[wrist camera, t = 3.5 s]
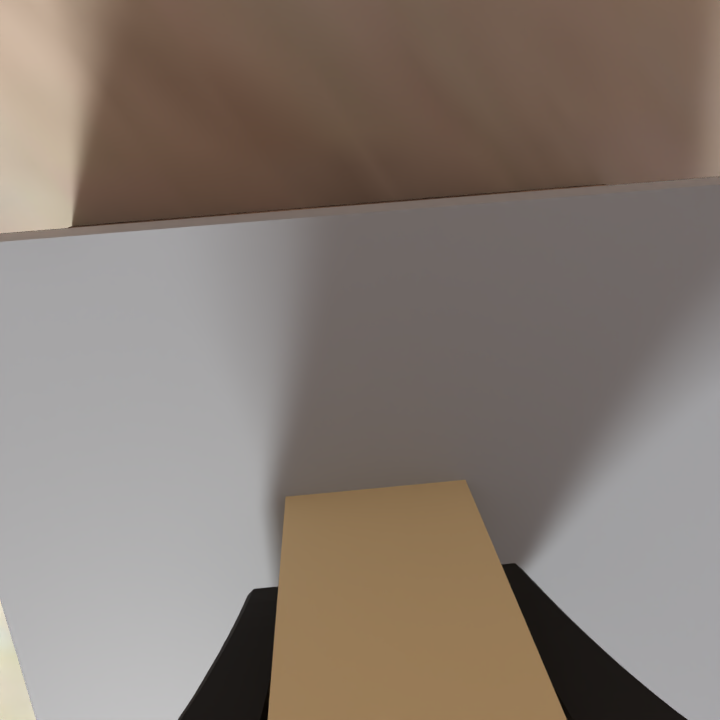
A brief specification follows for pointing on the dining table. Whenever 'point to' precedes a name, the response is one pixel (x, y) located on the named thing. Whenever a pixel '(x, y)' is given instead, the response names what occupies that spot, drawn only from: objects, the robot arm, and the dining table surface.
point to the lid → (365, 450)
